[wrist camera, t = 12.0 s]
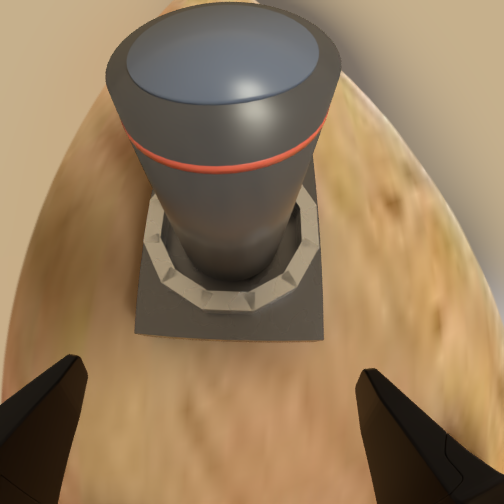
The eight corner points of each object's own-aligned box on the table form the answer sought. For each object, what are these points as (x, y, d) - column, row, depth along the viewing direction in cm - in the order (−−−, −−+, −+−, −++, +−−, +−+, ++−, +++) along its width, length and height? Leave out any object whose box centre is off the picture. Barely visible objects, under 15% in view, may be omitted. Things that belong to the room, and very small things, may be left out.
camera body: (313, 341, 19) (331, 338, 15) (146, 336, 19) (125, 331, 15) (305, 171, 23) (316, 139, 20) (167, 167, 23) (157, 135, 19)
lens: (230, 302, 17) (207, 179, 5) (163, 232, 18) (70, 61, 6) (300, 233, 19) (384, 57, 6) (232, 173, 20) (230, -14, 7)
